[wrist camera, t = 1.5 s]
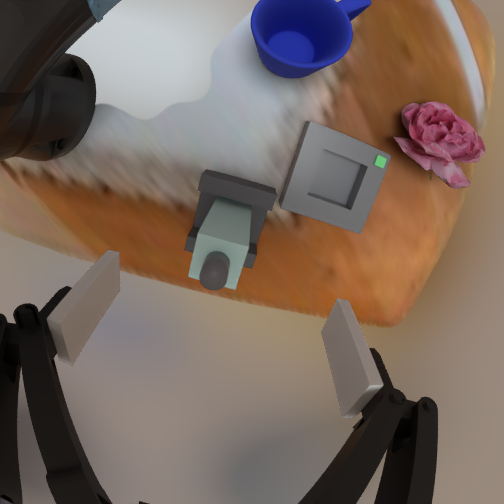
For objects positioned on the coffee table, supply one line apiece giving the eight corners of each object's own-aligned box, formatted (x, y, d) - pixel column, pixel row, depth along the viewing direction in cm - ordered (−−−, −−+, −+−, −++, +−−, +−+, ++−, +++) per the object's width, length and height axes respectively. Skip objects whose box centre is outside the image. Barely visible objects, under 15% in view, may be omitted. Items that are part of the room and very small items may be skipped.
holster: (191, 237, 35) (184, 250, 32) (207, 168, 31) (201, 173, 28) (252, 254, 36) (251, 268, 32) (274, 187, 32) (276, 194, 29)
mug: (363, 50, 24) (401, 28, 15) (283, 98, 27) (295, 86, 18) (320, 0, 21) (342, -38, 12) (237, 46, 25) (229, 14, 16)
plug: (210, 225, 33) (181, 293, 20) (218, 194, 32) (191, 246, 19) (242, 234, 34) (233, 307, 21) (251, 203, 32) (248, 261, 19)
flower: (381, 105, 30) (431, 66, 20) (431, 142, 32) (481, 115, 22) (377, 177, 28) (444, 142, 18) (432, 211, 30) (494, 192, 20)
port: (278, 201, 33) (281, 209, 30) (306, 121, 28) (311, 121, 26) (353, 226, 34) (361, 235, 31) (382, 153, 30) (392, 156, 27)
